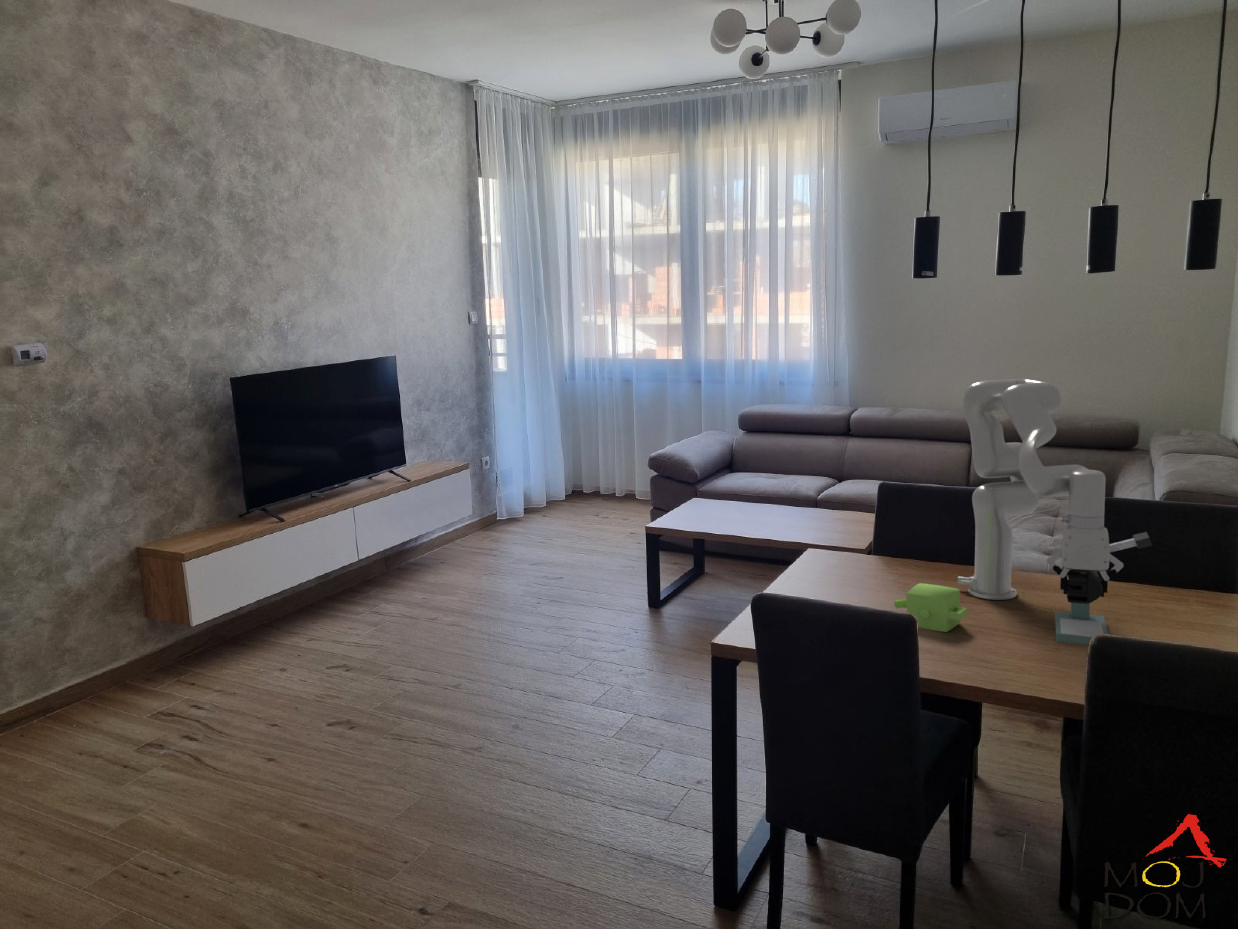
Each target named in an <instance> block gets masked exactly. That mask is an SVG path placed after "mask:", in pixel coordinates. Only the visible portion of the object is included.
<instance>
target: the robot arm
mask: <svg viewBox="0 0 1238 929" xmlns="http://www.w3.org/2000/svg"><path fill="white" fill-rule="evenodd" d="M1061 403H1062V396H1061V394H1060V391H1059V389H1058V388H1057V387H1056V386H1055V385H1054V384H1052V383H1050V382H1047V381H1041V380H1036V379H1035V380H1034V379H1030V378H1029V379H1027V378H1011V379H1009V378H1007V379H989V380H982V381H977V382H974V383H972V384H970V385H969V386H968V387H967V388H966V390H965V392H964V394H963V398H962V409H963V414H964V417H965V420H966V423H967V425H968V429H969V434H970V442H971V451H972V452H971V453H972V459H973V461H972V462H973V467H974V470H975V473H976V474H977V476H979V477H980V478H984V479H996V478H998V479H999V478H1008V477H1009V479H1010V481H1001V482H990V483H984V484H982V485H980V486H977V487H976V489H975V490H974V491H973V492H972V495H971V496H972V497H971V502H972V509H973V515H974V525H975V529H974V531H975V532H974V536H975V538H974V541H975V542H974V544H975V545H974V574H973V575H970V576H969V577H968V576H967V577H966V576H959V575H958V576H957V584H961V586H968V587H967V588H968V593H969V594H970V595H971V596H973V597H976V598H979V599H985V600H992V601H1001V600H1002V601H1003V600H1005V601H1006V600H1012V599H1014V598H1016V597H1017V594H1018V592H1017V589H1015V588H1014V587H1012V564H1013V563H1012V559H1013V558H1012V557H1013V532H1012V529H1011V526H1010V525H1009V523H1008V522H1007V520H1006V519H1005V518H1007V517H1013V516H1014V517H1015V516H1024V515H1029V514H1030V515H1031V514H1032V513H1033V512H1034V513H1035V511H1036V510H1037V508H1038V505H1039V502H1040V501H1039V498H1052V497H1053V498H1054V497H1055V498H1056V497H1068V513H1067V514H1066V515H1061V522H1063V523H1064V522H1065V523H1066V524H1067V525H1065V526H1064V529H1063V533H1062V539H1061V549H1060V550H1059V551H1057V552H1055V553H1054V554H1052V555H1051V556H1049V557H1047V559H1046V562H1047V563H1048V565H1049V566H1050V568H1051V569H1052V571H1054V572H1055V573H1056V574H1057V575H1058V576H1059V577H1060V583H1059V584H1060V586H1059V588H1060V590H1062V591H1063V595H1066V594H1067V580H1068V575H1067V573H1068V572H1069V570H1070V569H1071V570H1085V571H1096V572H1099V573H1100V575H1101V576H1100V577H1099V579H1100V582H1101V585H1102V594H1101V596H1100V597H1101V598H1105V594H1108V585H1109V584H1108V582H1109V580H1110V579H1111V578H1113V577H1114V576H1116V575H1117V573H1118V572H1120V571H1121V570H1122V569H1123V568H1124V566H1125V565H1124V563H1123V562H1122V561H1121V560H1119V559H1118V558H1117V557H1115V556H1114V555H1112V554H1111V552H1110V553H1109V544H1110V537H1109V531H1108V528H1106V527H1105V510H1106V507H1105V504H1106V503H1105V502H1106V480H1107V479H1106V474H1105V473H1104V472H1102V471H1101V470H1097V469H1089V468H1087V467H1086V466H1083V465H1080V464H1063V465H1062V464H1061V465H1048V466H1044V465H1043V462H1042V461H1041V460H1040V458H1039V456H1038V453H1037V449H1038V448H1040V447H1041V446H1044V445H1046V444H1047V443H1048V442H1050V441H1051V440H1052V439H1053V438H1054V437H1055V435H1056V434H1057V426H1056V424H1055V422H1054V421H1053V419H1052V417H1051V416H1050V415H1051V414H1054V413H1056V412H1057V411H1058V410H1059V409H1060V408H1061ZM996 411H997V412H999V411H1005V412H1006V414H1007V415H1008V417H1009V419H1010V421H1011V423H1012V425H1013V426H1014V428H1015V430H1016V432H1017V433H1018V436H1019V437H1020V439H1021V441H1022V442H1015V441H1013V442H1006V441H1005V437H1004V436H1005V435H1004V428H1003V425H1002V424H1001V422H1000V420H999V419H998V418H997V417H996V415H995V414H993V413H992V412H996ZM1059 559H1060V564H1061V567H1062V568H1061V567H1060V566H1059V565H1058V564H1057V563H1056V562H1057V560H1059ZM1110 562H1111V564H1113V565H1114V566H1113V567H1111V569H1109V568H1110V567H1109V566H1110Z"/></svg>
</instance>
